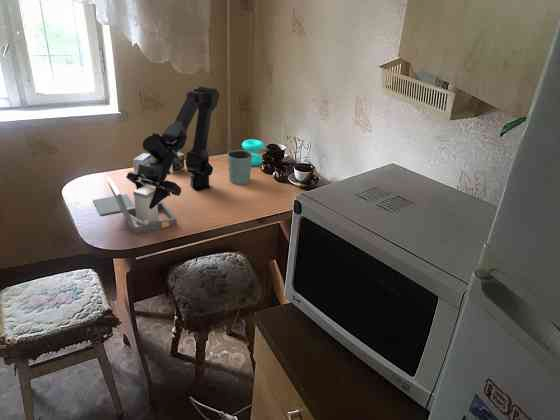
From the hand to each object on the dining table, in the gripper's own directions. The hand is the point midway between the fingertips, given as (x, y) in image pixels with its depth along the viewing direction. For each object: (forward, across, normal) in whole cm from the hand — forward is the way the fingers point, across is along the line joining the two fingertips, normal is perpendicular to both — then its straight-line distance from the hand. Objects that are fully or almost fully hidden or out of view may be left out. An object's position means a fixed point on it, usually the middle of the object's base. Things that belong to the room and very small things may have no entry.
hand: (143, 206), depth 142 cm
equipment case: (+4, -1, +5) cm, 7 cm away
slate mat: (+1, -18, +8) cm, 20 cm away
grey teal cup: (-29, +10, +39) cm, 49 cm away
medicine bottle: (-26, -20, +35) cm, 48 cm away
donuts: (-44, +6, +54) cm, 70 cm away
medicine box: (-17, -25, +27) cm, 41 cm away
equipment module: (+4, 0, +6) cm, 7 cm away
